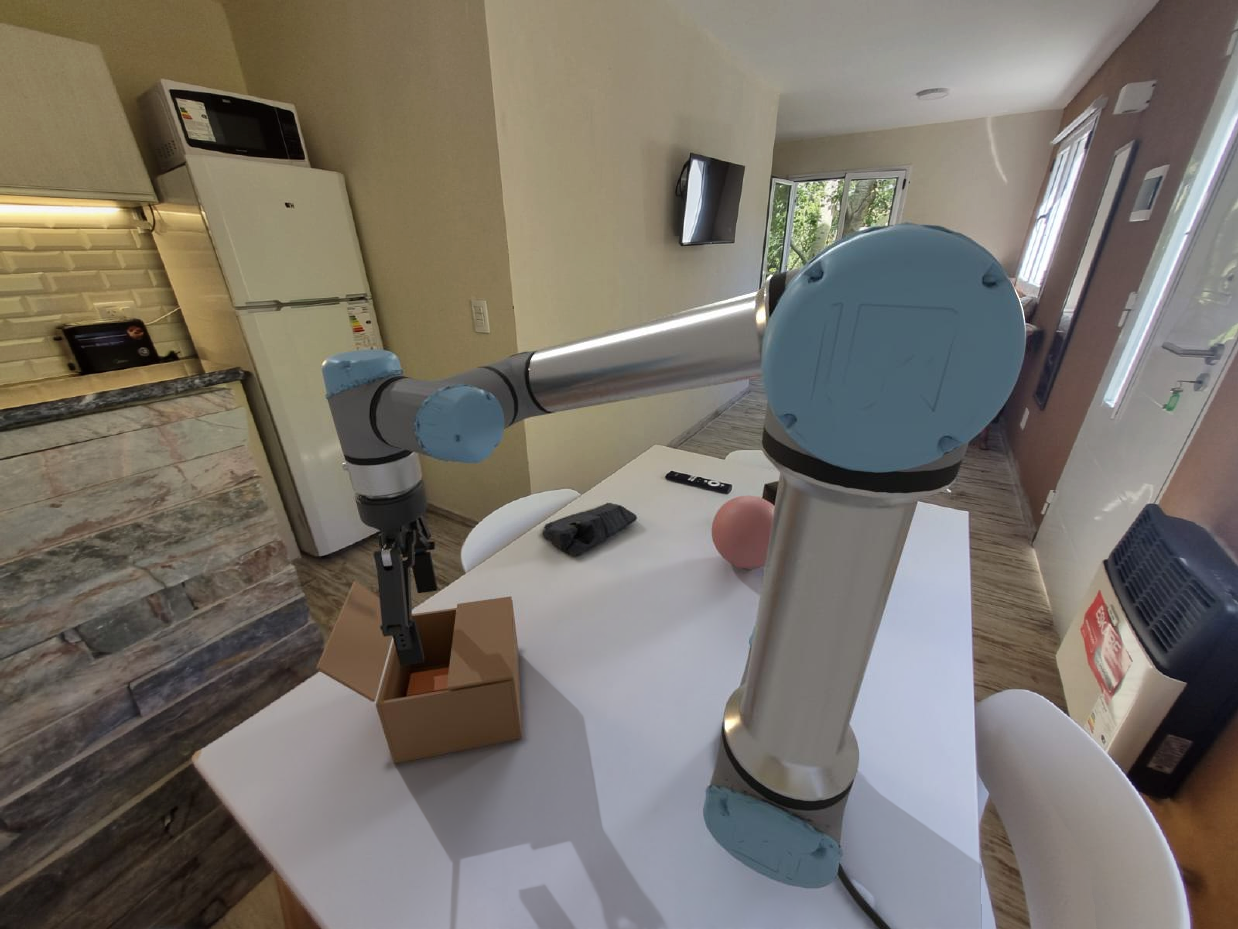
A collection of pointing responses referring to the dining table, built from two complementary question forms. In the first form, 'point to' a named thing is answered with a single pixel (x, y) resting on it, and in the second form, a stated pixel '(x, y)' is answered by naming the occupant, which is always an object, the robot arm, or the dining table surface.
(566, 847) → the dining table surface
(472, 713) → the box
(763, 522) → the balloon
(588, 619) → the dining table surface
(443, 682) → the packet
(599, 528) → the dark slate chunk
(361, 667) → the flap
